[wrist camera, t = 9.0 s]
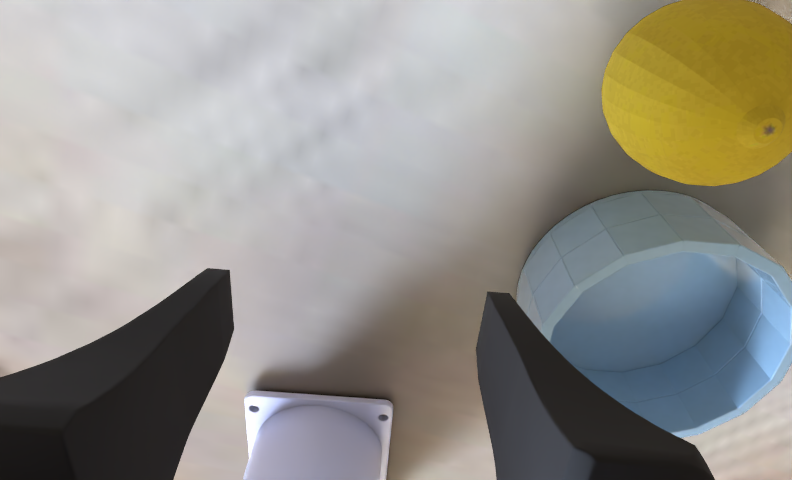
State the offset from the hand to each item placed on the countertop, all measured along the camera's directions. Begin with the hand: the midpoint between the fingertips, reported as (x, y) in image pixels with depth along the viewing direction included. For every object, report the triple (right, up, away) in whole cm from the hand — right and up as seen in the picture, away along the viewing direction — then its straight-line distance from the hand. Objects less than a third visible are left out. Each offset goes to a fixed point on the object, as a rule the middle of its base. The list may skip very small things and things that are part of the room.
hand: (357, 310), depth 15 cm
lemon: (+11, +9, +6) cm, 15 cm away
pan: (+12, 0, +11) cm, 16 cm away
